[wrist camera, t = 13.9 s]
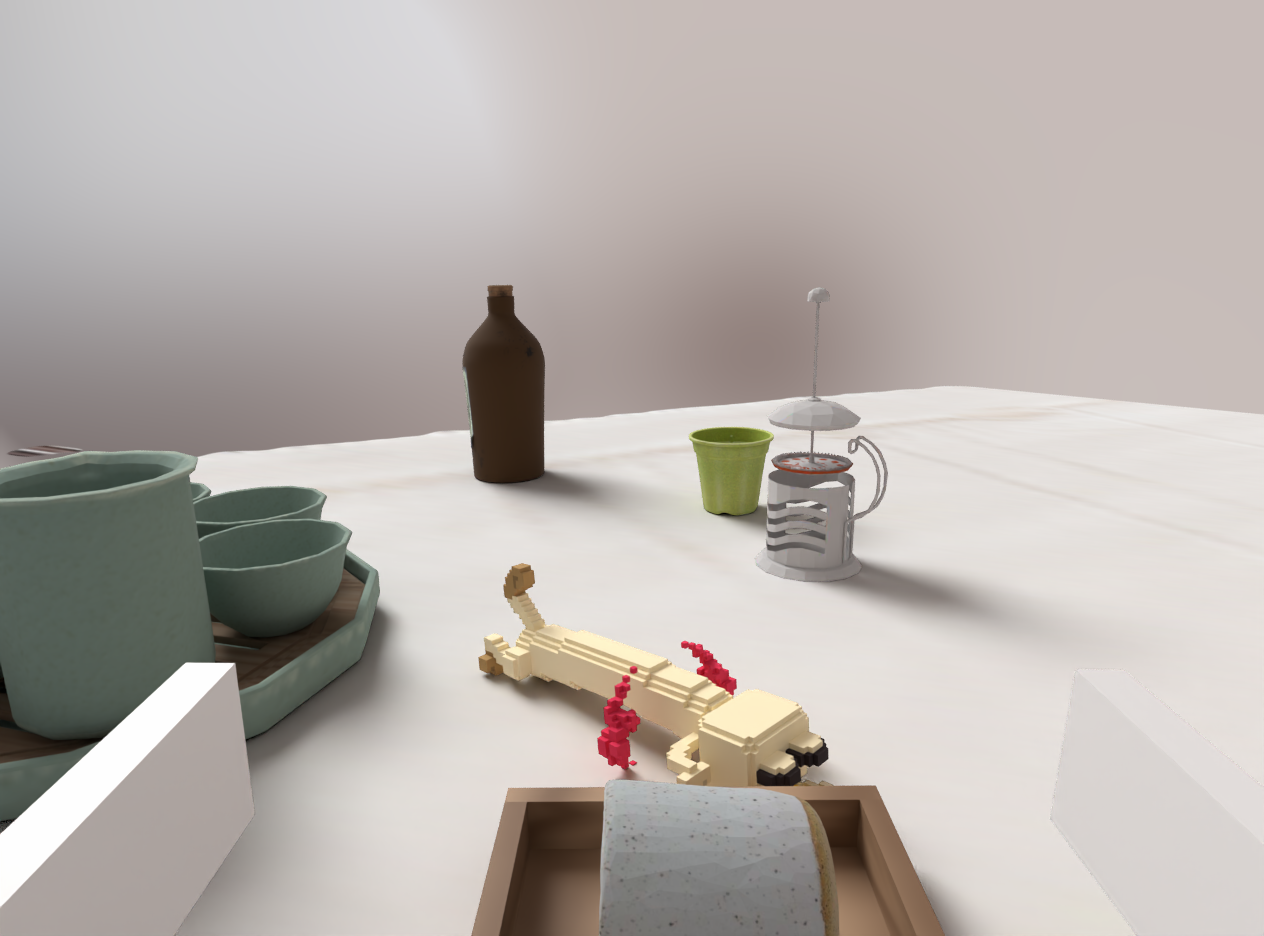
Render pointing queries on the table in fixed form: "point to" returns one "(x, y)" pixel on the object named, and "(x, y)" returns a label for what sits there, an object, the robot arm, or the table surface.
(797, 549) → the french press
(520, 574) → the cat figure
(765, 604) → the table surface
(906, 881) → the tray
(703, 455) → the plant pot
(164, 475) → the tea set
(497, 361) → the olive oil
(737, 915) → the ceramic mug
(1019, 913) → the table surface
